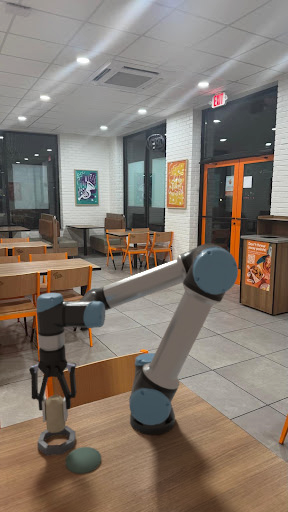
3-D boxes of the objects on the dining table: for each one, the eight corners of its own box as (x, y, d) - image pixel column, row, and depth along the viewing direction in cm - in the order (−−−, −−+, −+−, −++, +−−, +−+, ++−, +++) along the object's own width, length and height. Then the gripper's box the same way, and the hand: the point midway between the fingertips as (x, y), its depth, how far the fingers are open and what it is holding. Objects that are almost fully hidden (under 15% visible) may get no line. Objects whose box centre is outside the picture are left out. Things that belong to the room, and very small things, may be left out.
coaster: (102, 448, 107) (102, 446, 107) (99, 473, 97) (99, 471, 97) (68, 449, 107) (68, 447, 107) (62, 474, 97) (62, 472, 97)
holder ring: (77, 431, 115) (76, 425, 115) (71, 454, 104) (71, 447, 104) (43, 432, 114) (43, 426, 114) (35, 455, 104) (34, 448, 104)
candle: (60, 434, 105) (59, 402, 104) (43, 432, 106) (41, 400, 105) (68, 423, 111) (66, 392, 109) (51, 421, 112) (50, 391, 110)
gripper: (85, 340, 109) (87, 410, 112) (23, 342, 108) (28, 412, 112) (82, 350, 102) (84, 425, 105) (16, 351, 101) (21, 427, 104)
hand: (55, 418), depth 108 cm, fingers closed on candle, 5 cm apart
